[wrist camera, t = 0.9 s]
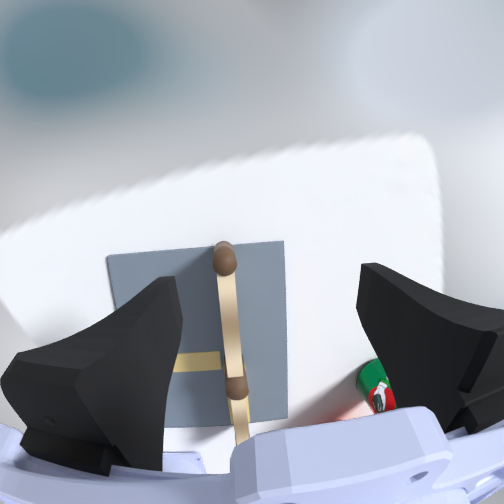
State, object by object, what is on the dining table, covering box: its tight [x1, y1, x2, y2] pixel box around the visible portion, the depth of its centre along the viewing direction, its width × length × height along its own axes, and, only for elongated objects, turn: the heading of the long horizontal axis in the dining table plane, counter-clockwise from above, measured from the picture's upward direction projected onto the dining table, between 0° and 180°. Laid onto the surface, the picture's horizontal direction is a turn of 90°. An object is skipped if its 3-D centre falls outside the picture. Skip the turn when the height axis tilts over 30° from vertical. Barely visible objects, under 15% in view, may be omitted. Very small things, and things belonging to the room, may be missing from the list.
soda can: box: [356, 358, 397, 414], centre depth 25 cm, size 5×5×12 cm
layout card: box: [107, 241, 288, 428], centre depth 27 cm, size 19×15×1 cm
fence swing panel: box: [213, 241, 243, 378], centre depth 24 cm, size 10×2×5 cm, turn 4°
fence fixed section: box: [224, 354, 250, 446], centre depth 26 cm, size 9×2×5 cm, turn 4°
